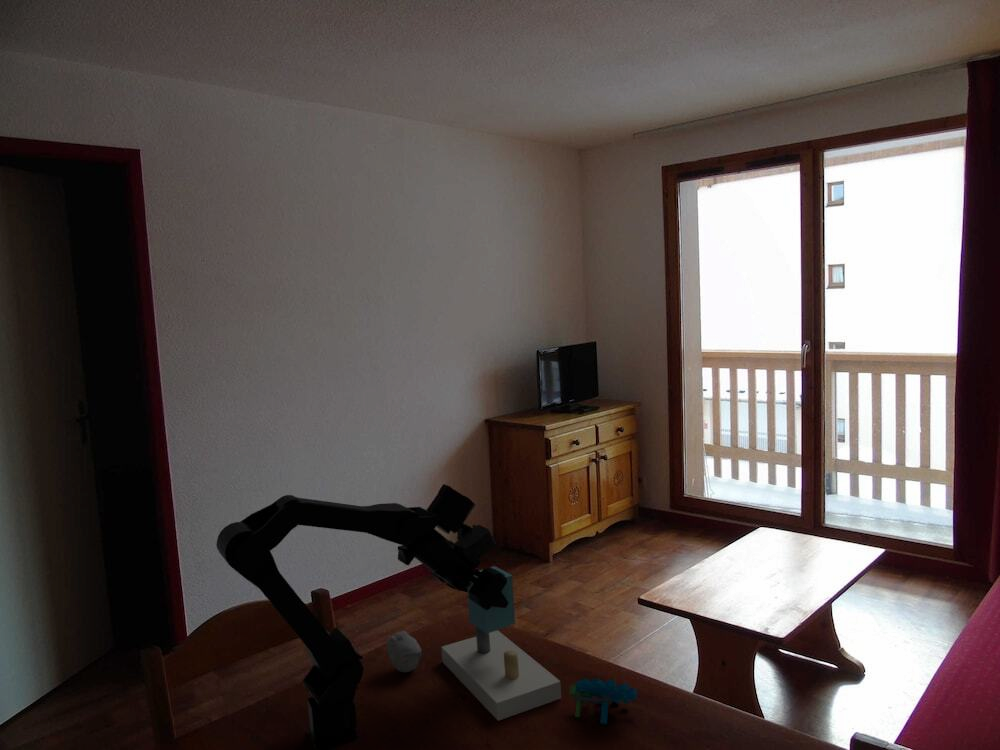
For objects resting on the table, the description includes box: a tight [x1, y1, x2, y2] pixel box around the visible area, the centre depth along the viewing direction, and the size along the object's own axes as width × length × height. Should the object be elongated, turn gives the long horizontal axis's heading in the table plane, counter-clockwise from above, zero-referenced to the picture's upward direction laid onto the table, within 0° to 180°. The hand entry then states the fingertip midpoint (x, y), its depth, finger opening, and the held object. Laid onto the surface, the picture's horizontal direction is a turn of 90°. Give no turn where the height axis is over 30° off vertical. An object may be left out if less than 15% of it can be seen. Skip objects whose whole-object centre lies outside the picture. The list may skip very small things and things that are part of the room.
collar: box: [466, 565, 516, 634], centre depth 128 cm, size 6×6×9 cm
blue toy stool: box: [568, 677, 638, 726], centre depth 114 cm, size 11×6×10 cm
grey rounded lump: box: [385, 630, 422, 673], centre depth 132 cm, size 6×7×7 cm
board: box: [441, 626, 562, 722], centre depth 127 cm, size 12×23×8 cm, turn 27°
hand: (497, 599), depth 129 cm, fingers closed on collar, 6 cm apart
